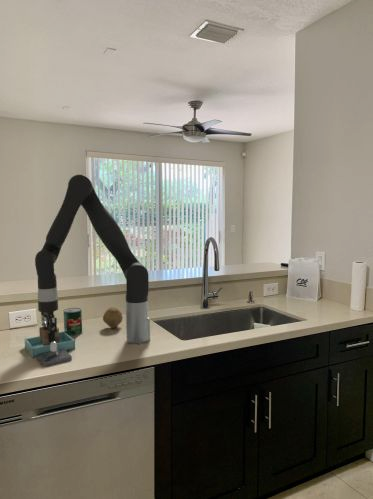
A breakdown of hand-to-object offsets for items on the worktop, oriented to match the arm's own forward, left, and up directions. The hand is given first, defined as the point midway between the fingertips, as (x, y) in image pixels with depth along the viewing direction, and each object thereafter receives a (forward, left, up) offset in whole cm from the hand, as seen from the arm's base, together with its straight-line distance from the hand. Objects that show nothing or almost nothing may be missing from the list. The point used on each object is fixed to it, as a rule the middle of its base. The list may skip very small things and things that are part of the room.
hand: (49, 339), depth 148 cm
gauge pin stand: (+2, +13, -4) cm, 14 cm away
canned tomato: (-14, -13, -4) cm, 19 cm away
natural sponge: (-32, -10, -4) cm, 34 cm away
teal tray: (0, 0, -4) cm, 4 cm away
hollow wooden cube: (0, 0, -1) cm, 1 cm away
